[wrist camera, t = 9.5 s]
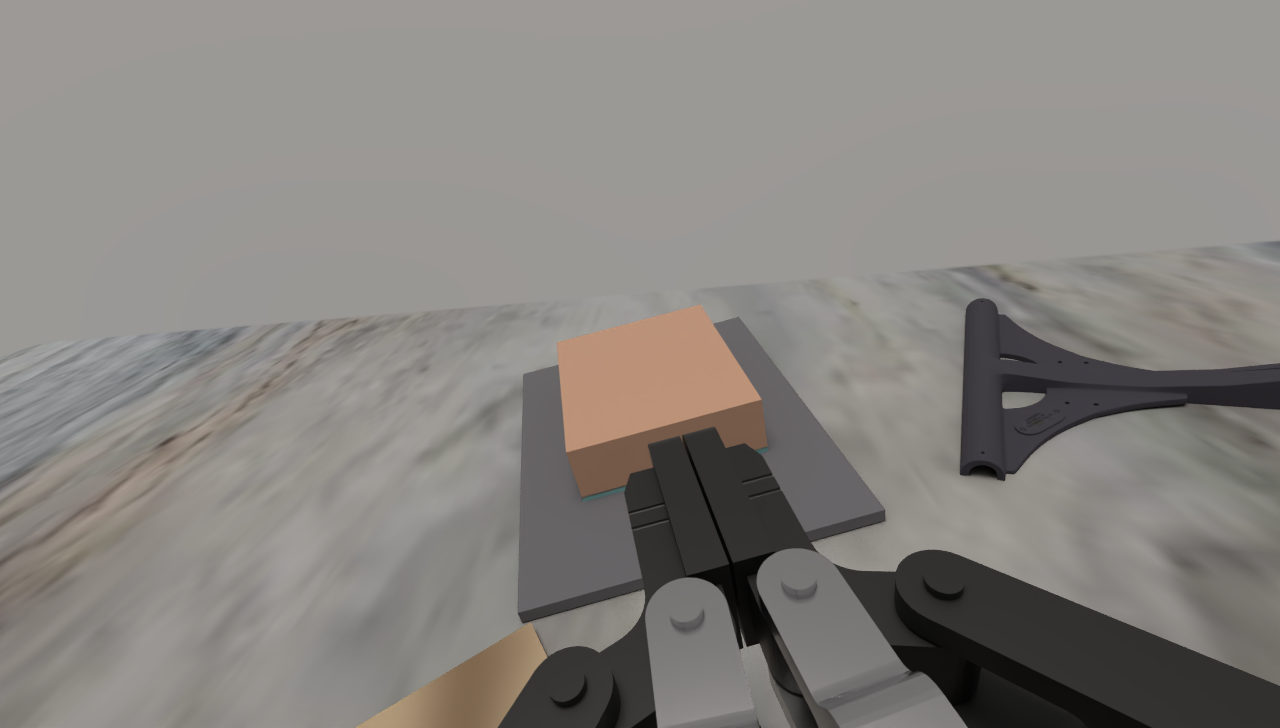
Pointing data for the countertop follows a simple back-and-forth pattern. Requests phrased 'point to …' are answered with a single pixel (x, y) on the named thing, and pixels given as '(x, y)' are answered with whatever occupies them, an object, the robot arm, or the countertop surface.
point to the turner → (470, 688)
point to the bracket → (1071, 390)
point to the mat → (600, 528)
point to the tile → (650, 395)
